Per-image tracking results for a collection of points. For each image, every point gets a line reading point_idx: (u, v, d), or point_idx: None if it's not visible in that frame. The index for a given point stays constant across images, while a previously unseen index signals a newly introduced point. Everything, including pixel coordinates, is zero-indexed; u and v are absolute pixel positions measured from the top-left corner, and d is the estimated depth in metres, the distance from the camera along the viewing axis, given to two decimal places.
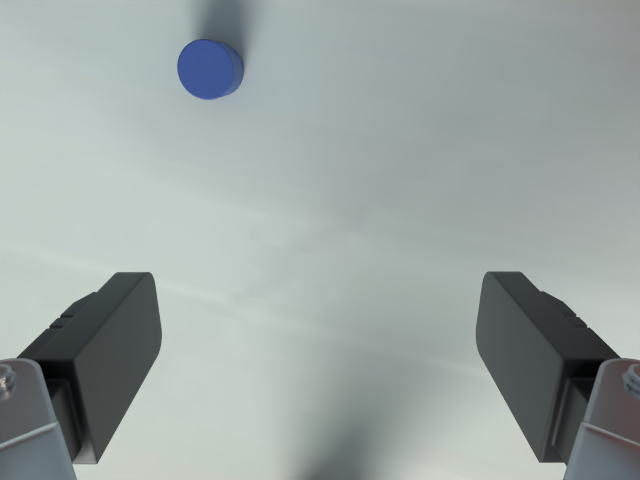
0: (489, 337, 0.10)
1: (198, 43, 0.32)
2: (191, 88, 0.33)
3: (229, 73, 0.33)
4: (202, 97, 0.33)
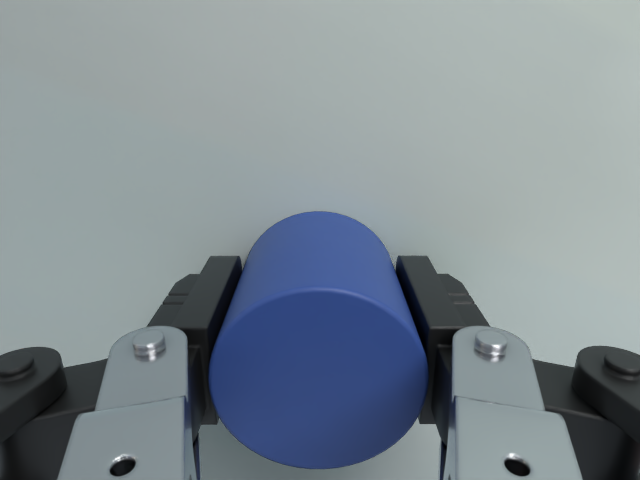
0: None
1: (321, 461, 0.09)
2: (394, 338, 0.08)
3: (227, 364, 0.08)
4: (359, 301, 0.08)
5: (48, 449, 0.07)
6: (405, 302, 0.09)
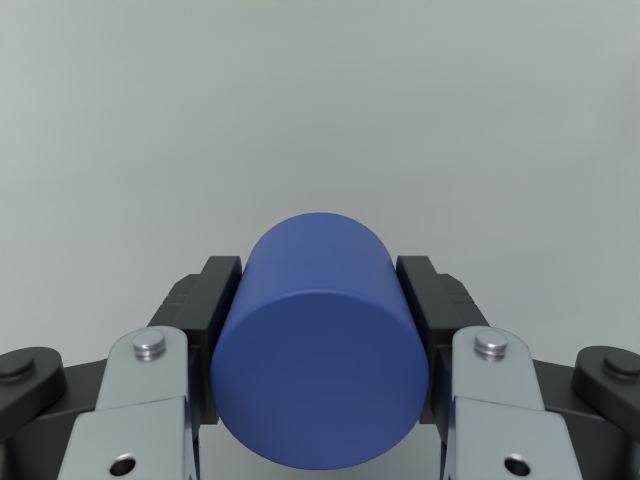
0: None
1: (322, 462, 0.09)
2: (395, 339, 0.08)
3: (228, 366, 0.08)
4: (360, 302, 0.08)
5: (48, 449, 0.07)
6: (406, 303, 0.09)
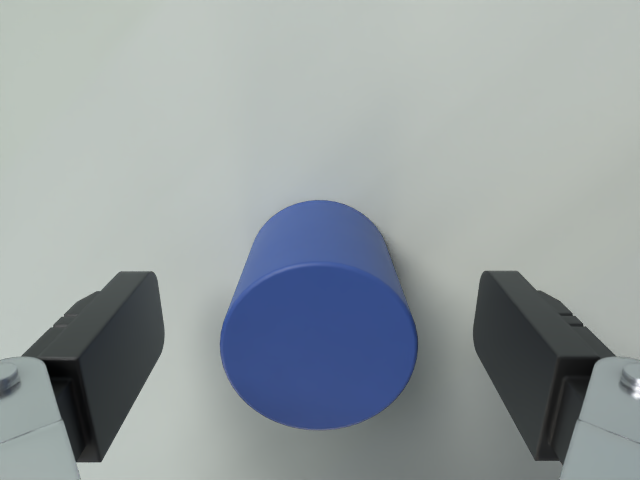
0: (486, 336, 0.11)
1: (321, 423, 0.10)
2: (386, 308, 0.09)
3: (237, 333, 0.09)
4: (355, 274, 0.09)
5: None
6: (397, 280, 0.10)
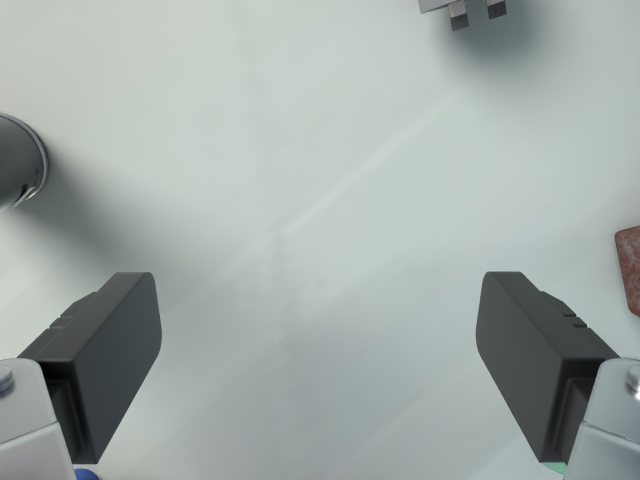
0: (489, 337, 0.10)
1: None
2: None
3: None
4: None
5: None
6: None
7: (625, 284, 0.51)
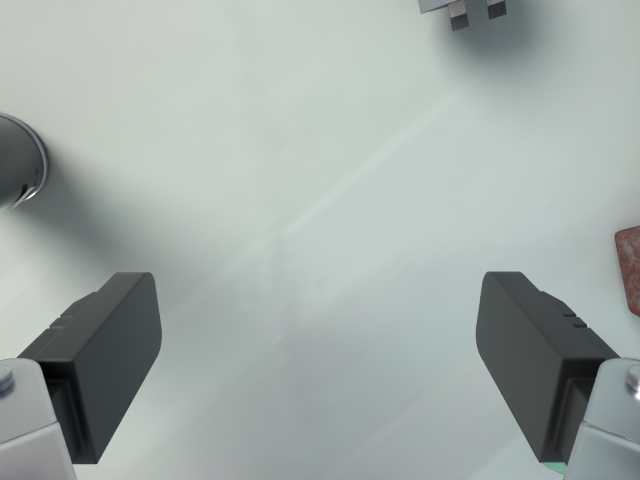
0: (489, 337, 0.10)
1: None
2: None
3: None
4: None
5: None
6: None
7: (625, 284, 0.51)
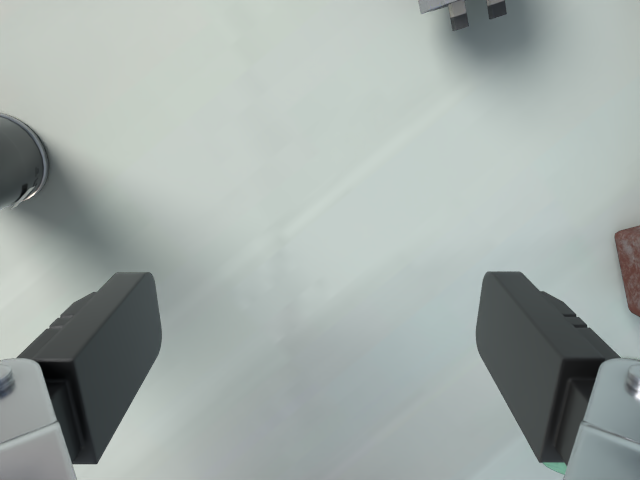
0: (489, 337, 0.10)
1: None
2: None
3: None
4: None
5: None
6: None
7: (625, 284, 0.51)
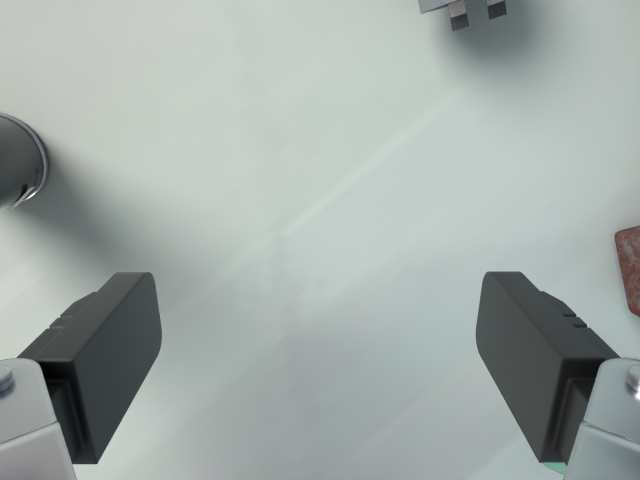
0: (489, 337, 0.10)
1: None
2: None
3: None
4: None
5: None
6: None
7: (625, 284, 0.51)
